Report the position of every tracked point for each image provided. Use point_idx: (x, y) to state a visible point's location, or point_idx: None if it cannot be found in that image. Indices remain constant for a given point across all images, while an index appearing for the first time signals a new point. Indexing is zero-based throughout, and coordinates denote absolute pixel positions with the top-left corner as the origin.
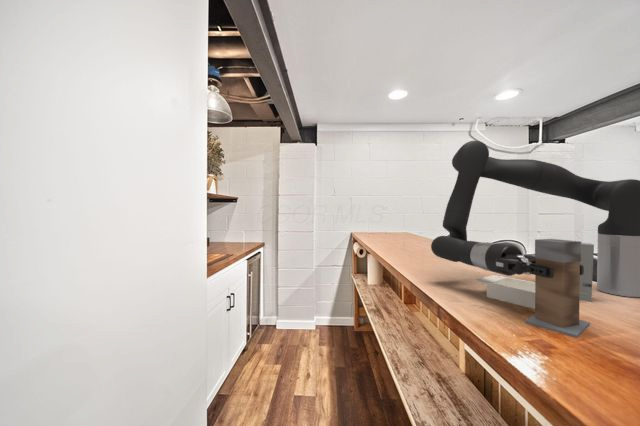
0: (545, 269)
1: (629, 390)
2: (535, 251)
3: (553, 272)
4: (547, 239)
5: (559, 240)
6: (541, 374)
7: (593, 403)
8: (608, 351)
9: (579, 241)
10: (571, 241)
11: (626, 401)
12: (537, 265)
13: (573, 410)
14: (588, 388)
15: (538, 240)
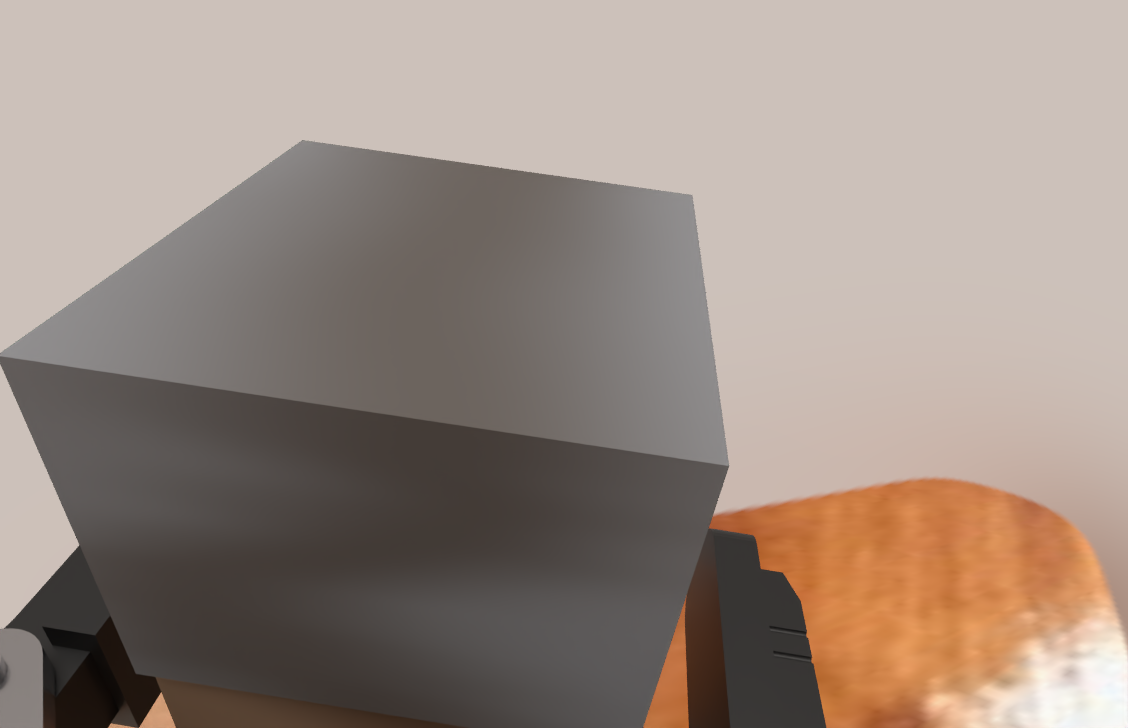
0: (784, 582)
1: (823, 502)
2: (661, 662)
3: (699, 559)
4: (358, 358)
5: (399, 241)
6: (1063, 646)
7: (997, 524)
8: None
9: (306, 146)
10: (425, 173)
11: (889, 494)
12: (769, 674)
13: (1083, 535)
14: (948, 550)
15: (721, 415)
